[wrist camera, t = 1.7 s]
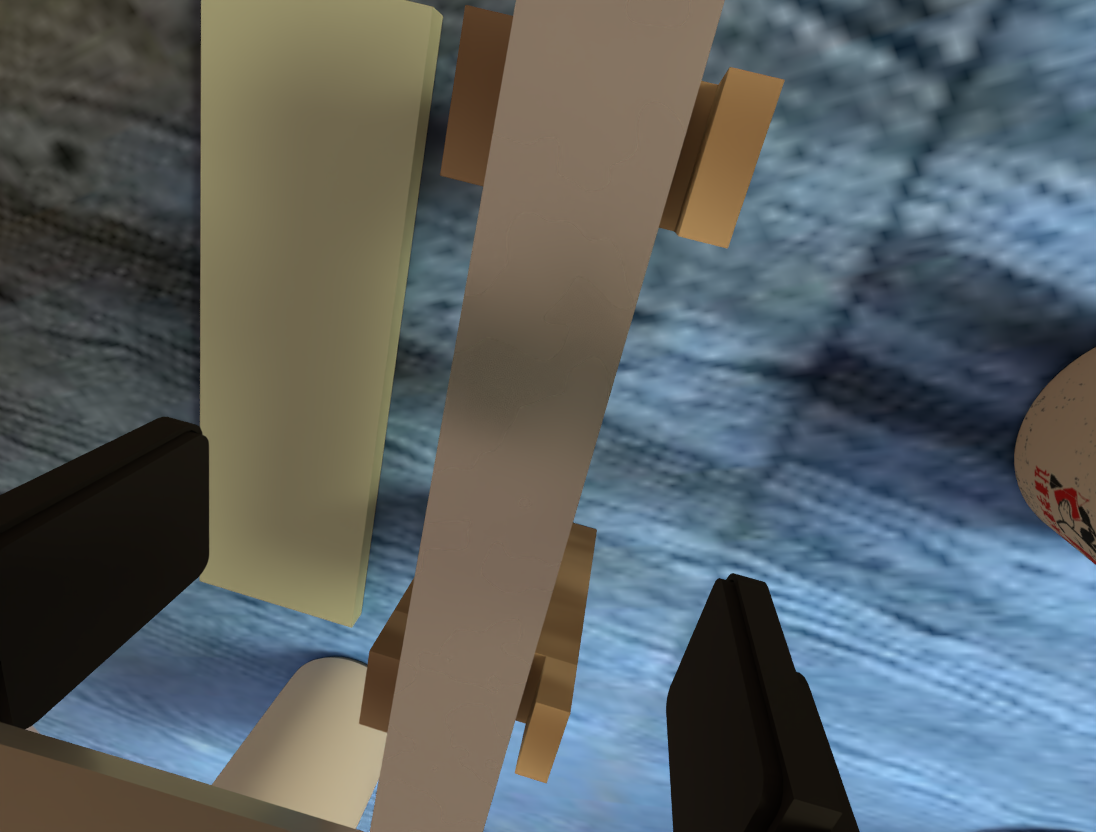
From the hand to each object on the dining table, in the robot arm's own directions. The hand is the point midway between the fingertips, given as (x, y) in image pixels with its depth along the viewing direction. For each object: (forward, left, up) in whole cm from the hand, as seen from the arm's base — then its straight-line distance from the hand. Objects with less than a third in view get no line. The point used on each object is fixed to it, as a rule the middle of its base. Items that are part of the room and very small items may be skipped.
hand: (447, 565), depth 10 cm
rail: (0, 0, -6) cm, 6 cm away
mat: (-2, +11, -14) cm, 17 cm away
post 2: (+8, -1, -14) cm, 16 cm away
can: (-21, +7, -14) cm, 26 cm away
